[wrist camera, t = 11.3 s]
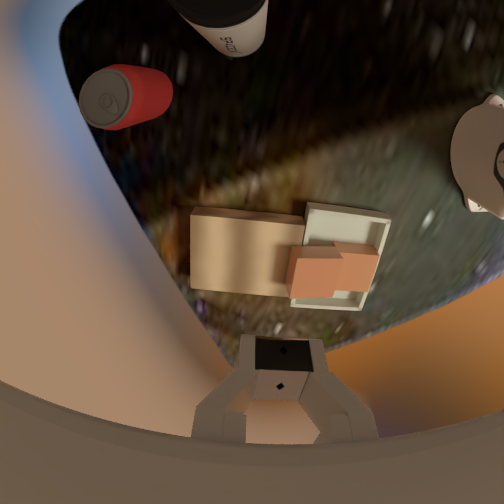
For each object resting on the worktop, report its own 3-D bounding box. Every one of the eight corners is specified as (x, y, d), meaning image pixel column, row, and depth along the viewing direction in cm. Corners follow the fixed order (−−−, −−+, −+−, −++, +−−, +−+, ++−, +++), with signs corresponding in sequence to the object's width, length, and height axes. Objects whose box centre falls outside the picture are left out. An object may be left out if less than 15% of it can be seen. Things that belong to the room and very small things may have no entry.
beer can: (145, 130, 34) (100, 148, 24) (115, 93, 32) (62, 99, 21) (185, 96, 32) (152, 99, 22) (153, 58, 30) (109, 48, 19)
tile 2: (372, 245, 41) (379, 255, 38) (362, 280, 44) (367, 292, 41) (333, 241, 41) (338, 252, 38) (324, 277, 44) (328, 289, 41)
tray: (384, 212, 39) (391, 219, 37) (357, 300, 46) (361, 310, 44) (306, 201, 39) (309, 208, 36) (288, 296, 46) (290, 306, 44)
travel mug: (230, 0, 26) (201, -80, 9) (276, 29, 28) (294, -35, 11) (197, 38, 29) (132, -11, 11) (242, 67, 31) (222, 37, 13)
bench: (302, 216, 40) (305, 225, 37) (289, 284, 45) (290, 297, 42) (194, 205, 39) (190, 214, 37) (194, 275, 45) (190, 288, 42)
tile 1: (335, 246, 39) (343, 258, 37) (325, 284, 42) (332, 297, 40) (291, 245, 38) (297, 258, 36) (284, 284, 41) (289, 298, 39)
